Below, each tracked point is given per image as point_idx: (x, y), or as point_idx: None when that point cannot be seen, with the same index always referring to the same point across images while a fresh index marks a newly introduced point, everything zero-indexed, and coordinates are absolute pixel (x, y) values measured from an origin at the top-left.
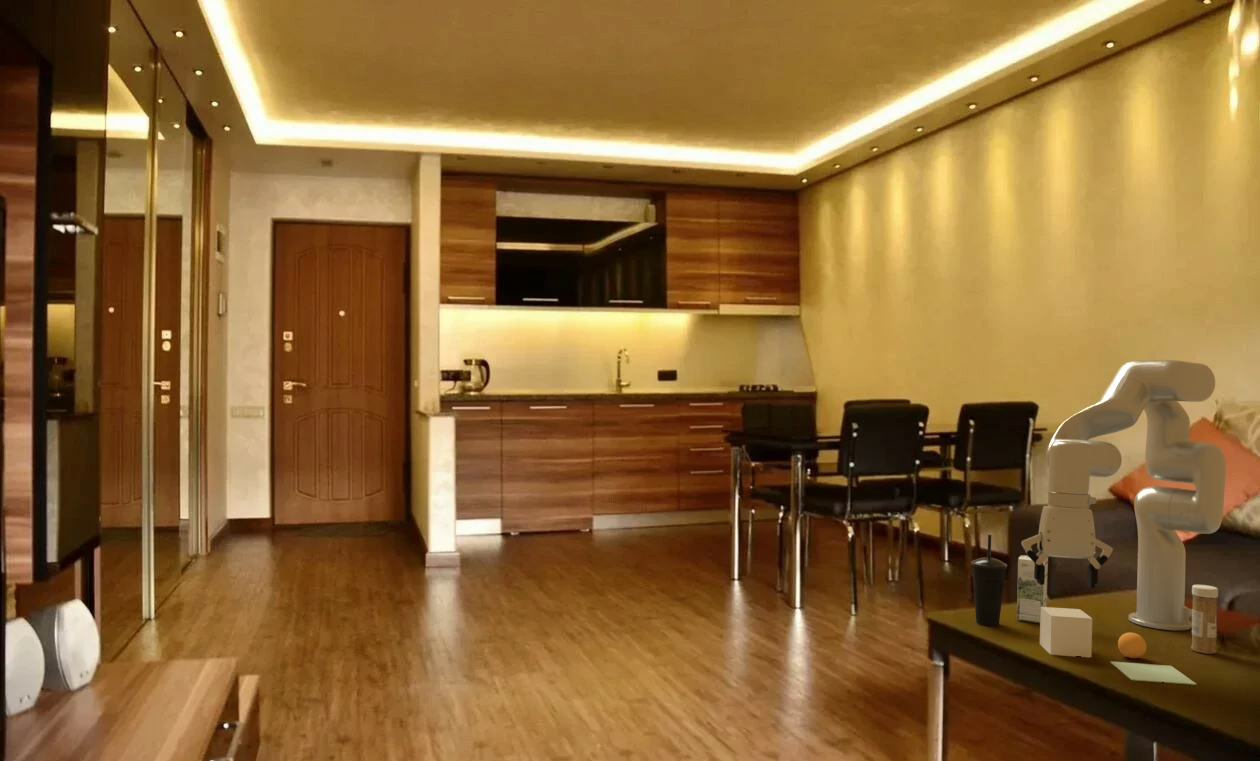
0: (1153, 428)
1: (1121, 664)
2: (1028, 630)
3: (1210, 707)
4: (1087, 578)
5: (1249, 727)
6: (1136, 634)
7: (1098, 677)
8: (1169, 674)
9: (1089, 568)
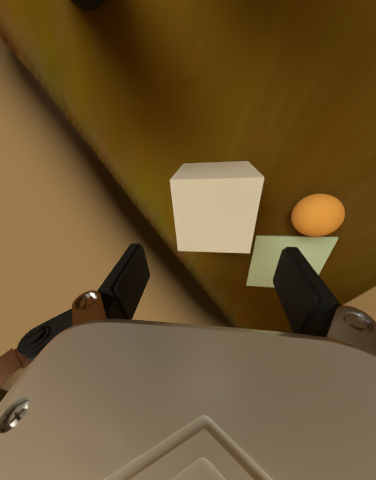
0: None
1: (264, 245)
2: (181, 23)
3: (275, 324)
4: (289, 273)
5: None
6: (331, 229)
7: (216, 281)
8: None
9: (302, 320)
